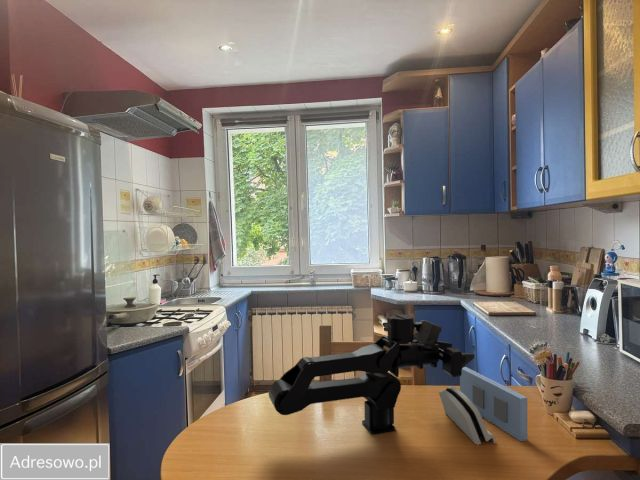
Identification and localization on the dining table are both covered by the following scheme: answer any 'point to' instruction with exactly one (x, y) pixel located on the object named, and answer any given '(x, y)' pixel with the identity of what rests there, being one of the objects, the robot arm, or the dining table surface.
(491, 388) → the cabinet side panel
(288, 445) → the dining table surface
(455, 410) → the white black-striped curved device
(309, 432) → the dining table surface
